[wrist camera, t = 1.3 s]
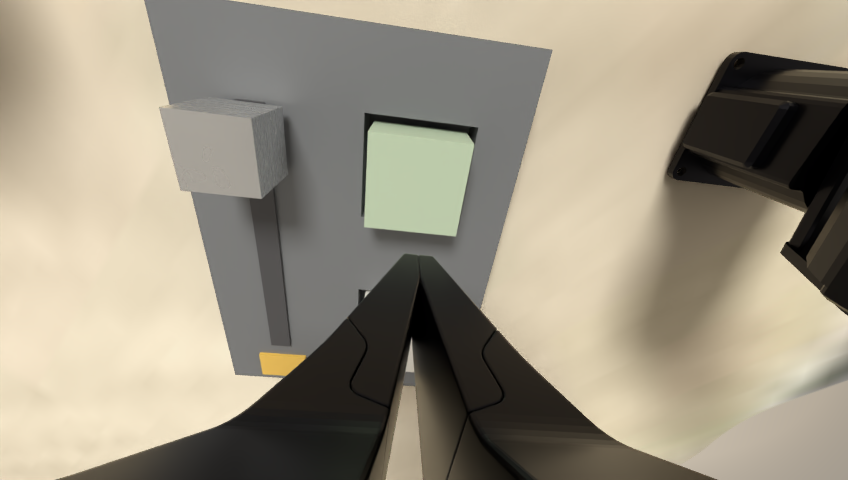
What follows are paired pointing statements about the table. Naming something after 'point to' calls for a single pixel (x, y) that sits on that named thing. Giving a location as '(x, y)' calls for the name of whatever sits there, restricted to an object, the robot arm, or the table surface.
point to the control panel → (339, 158)
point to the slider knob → (226, 146)
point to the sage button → (416, 178)
